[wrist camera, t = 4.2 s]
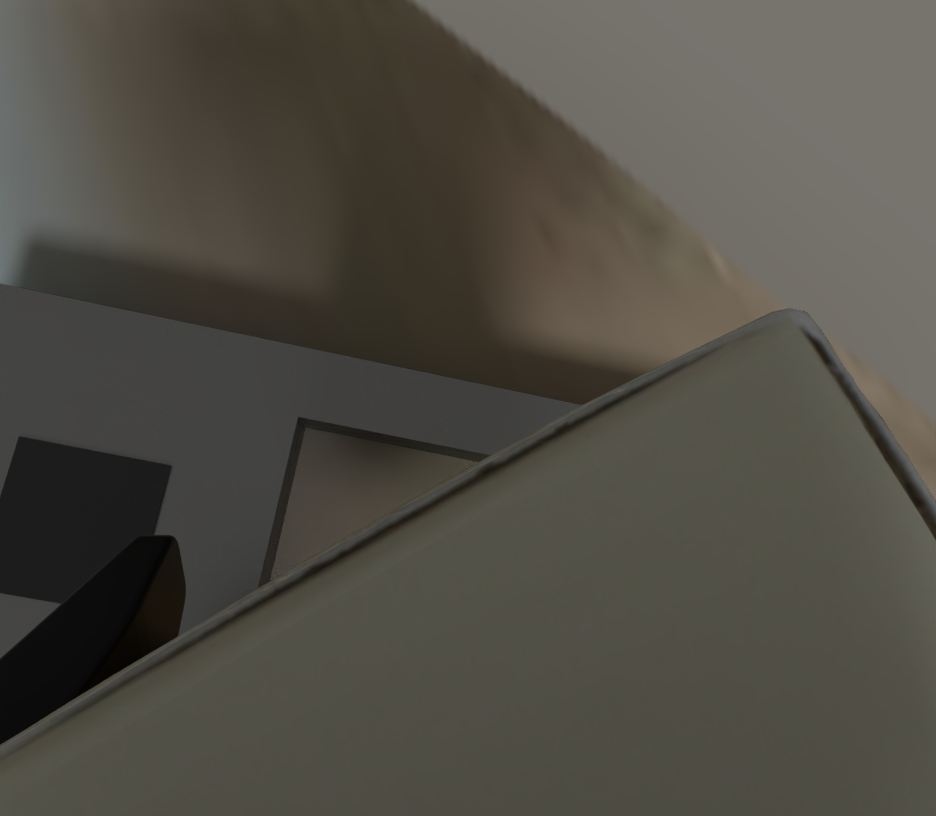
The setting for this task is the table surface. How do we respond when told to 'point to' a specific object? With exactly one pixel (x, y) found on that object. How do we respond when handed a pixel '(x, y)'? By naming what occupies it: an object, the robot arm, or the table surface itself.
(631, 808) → the skincare box
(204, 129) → the table surface
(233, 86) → the table surface
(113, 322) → the grey black flat block
